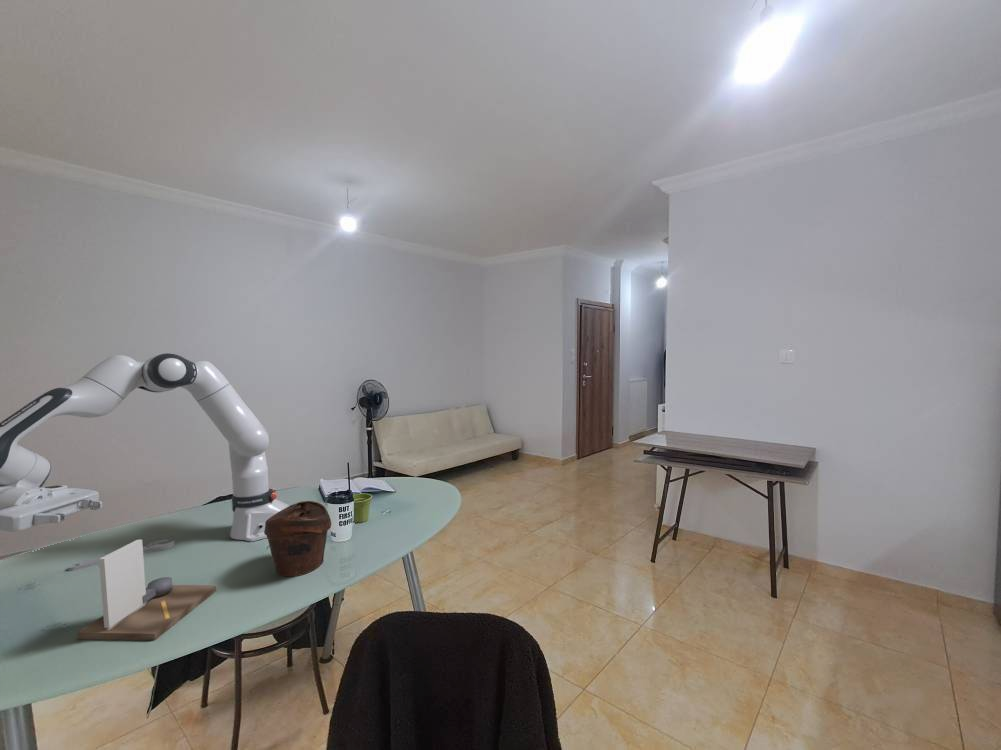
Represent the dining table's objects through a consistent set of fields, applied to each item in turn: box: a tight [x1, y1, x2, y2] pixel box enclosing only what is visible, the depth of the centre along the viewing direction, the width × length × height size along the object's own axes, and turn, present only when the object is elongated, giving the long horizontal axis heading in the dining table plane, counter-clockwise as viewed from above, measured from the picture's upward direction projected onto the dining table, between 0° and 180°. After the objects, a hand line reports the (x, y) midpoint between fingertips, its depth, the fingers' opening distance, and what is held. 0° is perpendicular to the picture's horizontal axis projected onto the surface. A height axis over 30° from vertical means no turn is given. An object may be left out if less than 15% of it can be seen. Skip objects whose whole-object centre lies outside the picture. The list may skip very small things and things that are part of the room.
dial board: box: [76, 584, 217, 641], centre depth 109 cm, size 20×18×2 cm
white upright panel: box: [98, 539, 173, 628], centre depth 109 cm, size 18×5×16 cm, turn 177°
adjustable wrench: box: [68, 538, 175, 572], centre depth 141 cm, size 25×6×2 cm, turn 128°
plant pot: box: [352, 492, 373, 524], centre depth 166 cm, size 9×9×9 cm
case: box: [264, 500, 332, 577], centre depth 132 cm, size 18×20×18 cm
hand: (81, 511), depth 108 cm, fingers open, 8 cm apart
